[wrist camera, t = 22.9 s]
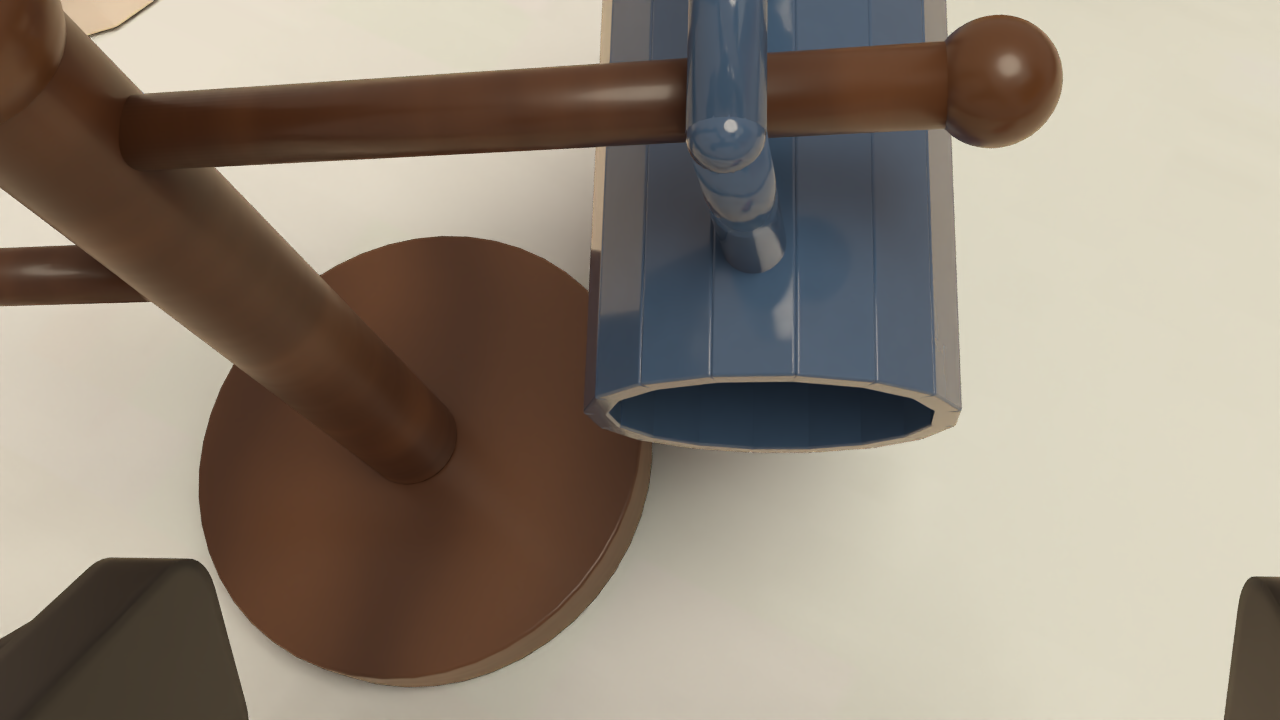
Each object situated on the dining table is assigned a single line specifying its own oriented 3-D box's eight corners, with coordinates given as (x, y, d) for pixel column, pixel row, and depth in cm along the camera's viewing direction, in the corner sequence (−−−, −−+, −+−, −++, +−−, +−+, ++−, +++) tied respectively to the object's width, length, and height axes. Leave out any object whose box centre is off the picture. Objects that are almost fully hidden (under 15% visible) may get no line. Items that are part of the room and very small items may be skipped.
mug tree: (66, 674, 28) (-1049, 440, 12) (160, 271, 33) (-570, -319, 16) (978, 709, 24) (1210, 427, 8) (954, 244, 29) (1073, -580, 12)
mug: (929, -21, 23) (947, 453, 21) (642, 0, 24) (626, 453, 22) (973, -481, 14) (1011, 276, 11) (505, -413, 15) (449, 293, 12)
